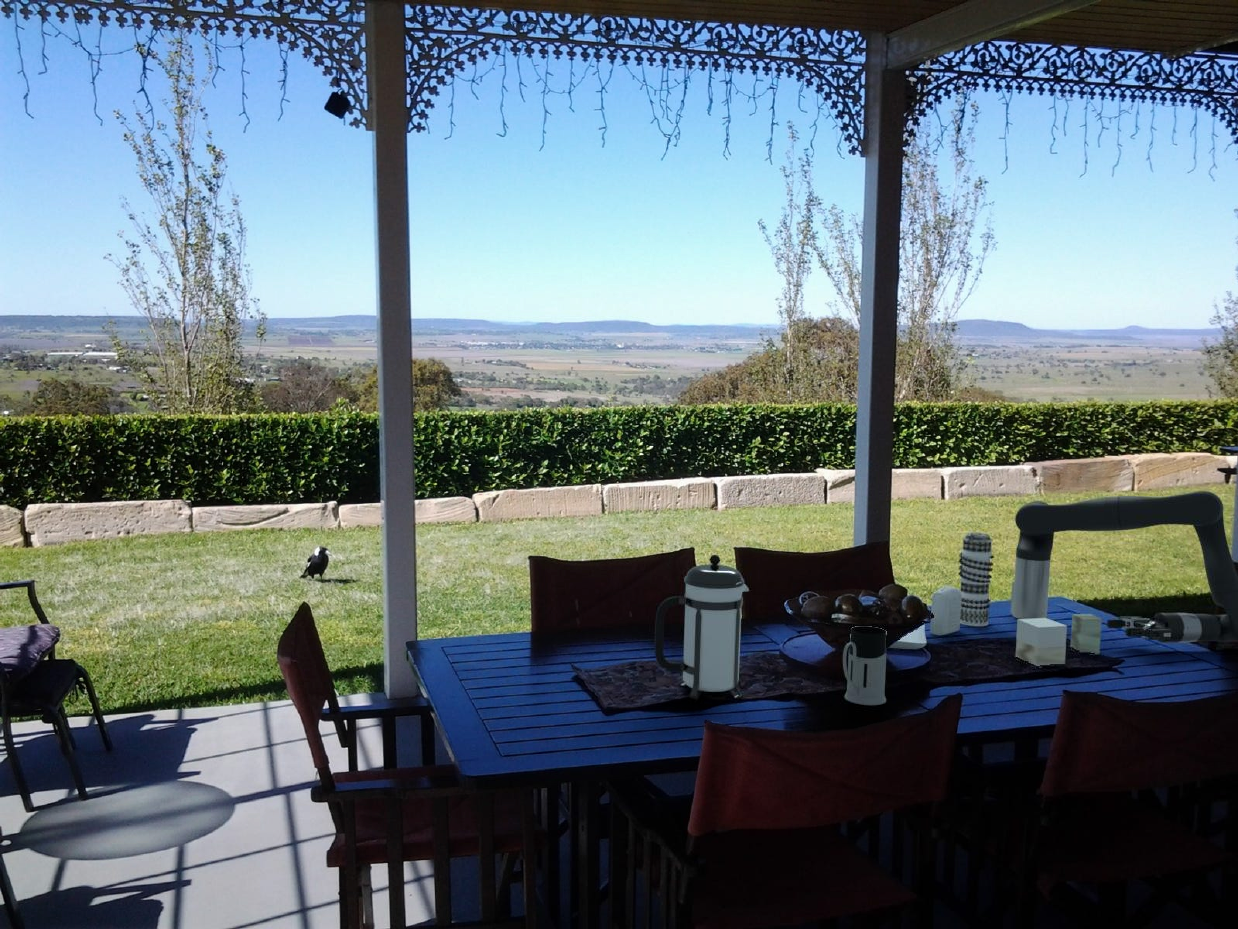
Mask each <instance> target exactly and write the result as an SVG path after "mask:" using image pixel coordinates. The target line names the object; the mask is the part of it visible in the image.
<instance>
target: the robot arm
mask: <svg viewBox="0 0 1238 929" xmlns="http://www.w3.org/2000/svg"><path fill="white" fill-rule="evenodd" d="M1224 519H1225V518H1224V504H1223V502H1222V499H1221V498H1220V497H1219V496H1218V495H1216V494H1215V493H1213V492H1211V491H1207V490H1196V491H1192V492H1188V493H1183V494H1182V493H1181V494H1175V495H1169V496H1168V495H1167V496H1158V497H1157V496H1143V495H1142V496H1140V495H1139V496H1138V495H1124V496H1123V495H1121V496H1109V497H1108V496H1107V497H1106V496H1105V497H1100V498H1099V497H1097V498H1092V499H1088V500H1082V501H1078V502H1074V503H1073V502H1072V503H1068V504H1067V503H1064V504H1049V503H1046V502H1045V501H1042V500H1034V501H1031V502H1028V503H1026V504H1024V505H1022V506H1021V507H1020V508H1019V509H1018V511H1017V512H1016V514H1015V517H1014V521H1015V525H1016V526H1017V528H1018V529H1019V537H1018V538H1019V539H1018V543H1017V546H1016V548H1015V549H1016V551H1015V564H1014V566H1015V568H1014V581H1012V583H1011V595H1010V596H1011V600H1010V601H1011V602H1010V610H1009V611H1010V615H1012V616H1011V617H1013V618H1016V619H1033V618H1047V616H1048V601H1049V586H1050V571H1051V557H1052V551H1053V546H1054V539H1055V538H1054V537H1055V533H1059V532H1071V531H1073V532H1074V531H1077V532H1115V531H1130V530H1137V529H1138V530H1139V529H1145V528H1150V527H1155V526H1163V525H1179V526H1180V525H1185V526H1193V527H1194V528H1193V529H1194V531H1195V533H1196V535H1197V537H1198V540H1199V544H1200V548H1201V552H1202V556H1203V563H1204V569H1205V570H1204V571H1205V574H1206V578H1207V579H1206V580H1207V584H1208V586H1209V590H1210V595H1211V597H1212V600H1213V603H1214V604H1215V605H1216V606H1219V607H1221V608H1223V609H1224V610H1225V613H1226V614H1209V613H1208V614H1207V613H1187V612H1159V613H1156V614H1155V615H1154V616H1153V618H1152V619H1151V618H1147V617H1146V618H1145V617H1144V618H1143V617H1142V616H1122V615H1120V616H1119V617H1118V618H1108V619H1107V621H1106V627H1107V628H1108V629H1122V630H1123V629H1124V630H1125V636H1126V637H1128V638H1142V639H1147V640H1149V641H1158V642H1159V643H1163V644H1164V643H1165V644H1166V643H1167V644H1169V643H1171V644H1174V643H1175V644H1179V643H1185V644H1186V643H1193V642H1195V643H1196V642H1200V643H1201V642H1213V641H1214V642H1225V643H1227V642H1228V643H1229V642H1230V643H1231V642H1234V643H1235V642H1238V572H1237V569H1236V566H1235V564H1234V561H1233V557H1232V555H1231V554H1232V553H1231V551H1230V548H1229V544H1228V540H1227V536H1226V535H1227V534H1226V530H1225V529H1226V528H1225V521H1224ZM1047 619H1048V618H1047Z"/></svg>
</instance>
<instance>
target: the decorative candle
mask: <svg viewBox="0 0 1238 929" xmlns="http://www.w3.org/2000/svg"><path fill="white" fill-rule="evenodd" d="M962 541H963V542H962V549H961V550H962V551H961V552H959V555H958V557H959V560H958V562H959V563H960V565H959V566H958V568H959V570H960V571H959V573H958V575H959V579H958V581H960V589H959V590H960V592H961V595H962V598H961V614H960V625H963V626H964V625H965V626H969V627H985V626H986V627H987V626H988V625H989V621H990V620H989V619H990V617H989V615H990V613H991V612H990V610H989V608H990V606H991V605H990V604H989V603H990V601H991V599H990V590H989V589H990V584H992V581H991V579H992V577H993V576H992V575H991V574H990V572H992V571H993V570H994V569H993V567H992V566H994V562H992V561H991V560H993V559H994V558H995V556H994V555H993V551H992V542H994V540H993V539H992V538H991V536H990V535H989V534H988V533H984V532H968V533H966V535H965V537H962Z"/></svg>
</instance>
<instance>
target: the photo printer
mask: <svg viewBox="0 0 1238 929" xmlns="http://www.w3.org/2000/svg"><path fill="white" fill-rule="evenodd" d="M960 590H961V589H960V588H958V587H955V586H949V585H948V586H944V587H942V588H939V589H937V590H936V591H935V592H934V593H933V594H932V598H931V611H930V612H931V613H933V615H934V618H932V619H931V618H930V626H929V627H930V629H929V631H930V633H931V634H932V635H934V636H944V635H948V634H952V633H955V632H958V631H959V630H961V629H960V628H961V624H960V614H961V598H962V595H961V592H960ZM931 613H930V614H931Z"/></svg>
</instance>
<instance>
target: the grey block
mask: <svg viewBox="0 0 1238 929" xmlns="http://www.w3.org/2000/svg"><path fill="white" fill-rule="evenodd" d="M1016 620H1017V625H1016V635H1015V636H1016V638H1015V639H1016V641H1017V640H1019V641H1022V642H1024V643H1027V644H1029V645H1031V646H1034V647H1036V648H1045V647H1061V646H1066V643H1067V630H1068V626H1067V625H1066V624H1063V623H1060V622H1057V621H1055V620H1052V619H1051V618H1033V619H1019V618H1017V619H1016ZM1066 647H1067V646H1066Z"/></svg>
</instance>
